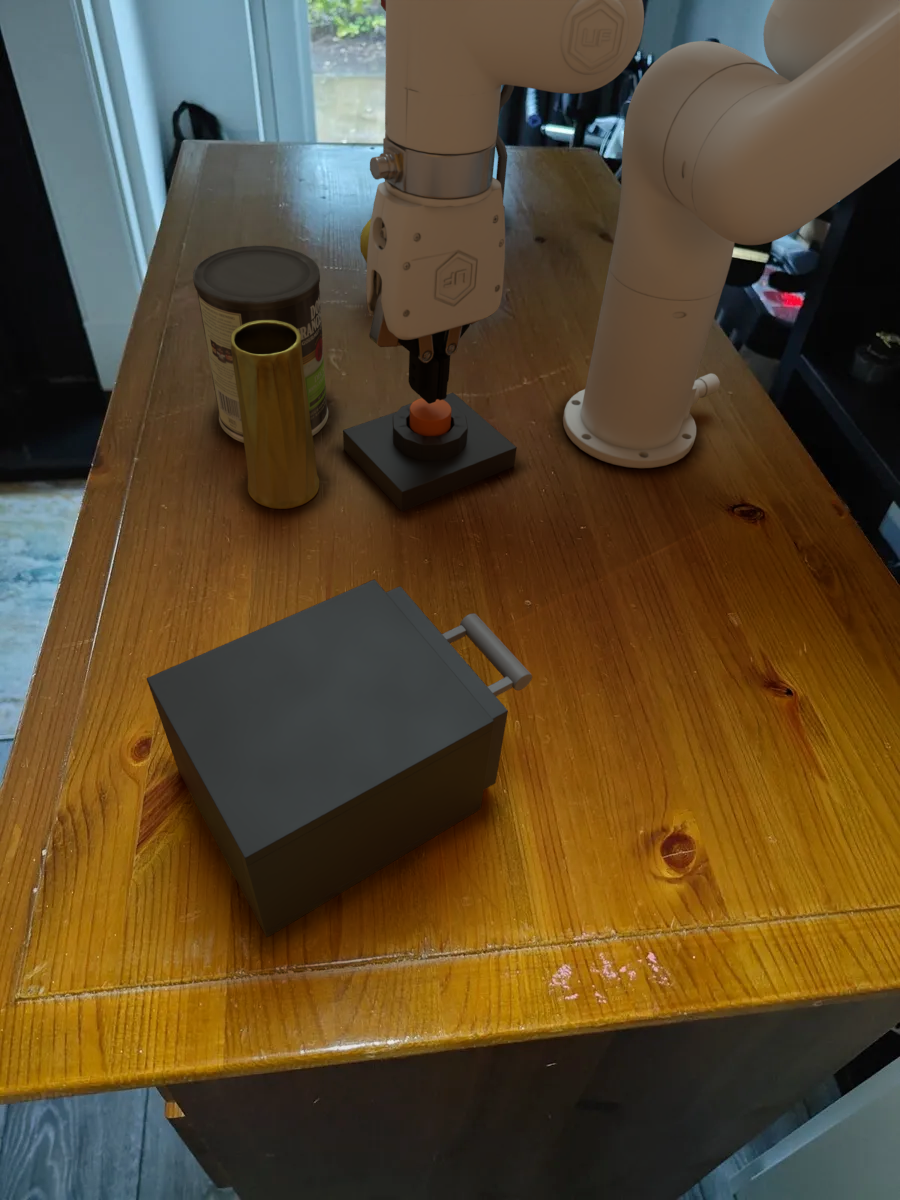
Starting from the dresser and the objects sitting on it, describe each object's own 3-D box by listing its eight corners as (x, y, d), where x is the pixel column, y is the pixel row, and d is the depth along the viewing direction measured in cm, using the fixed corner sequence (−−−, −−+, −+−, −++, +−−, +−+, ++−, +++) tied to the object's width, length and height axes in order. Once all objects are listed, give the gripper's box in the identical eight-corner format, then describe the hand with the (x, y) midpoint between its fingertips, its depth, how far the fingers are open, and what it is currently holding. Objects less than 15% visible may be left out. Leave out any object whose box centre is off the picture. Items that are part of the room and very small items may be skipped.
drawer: (450, 638, 61) (456, 560, 55) (549, 751, 55) (567, 678, 49) (218, 751, 53) (198, 675, 48) (303, 897, 47) (290, 830, 42)
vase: (261, 518, 70) (238, 366, 59) (238, 475, 73) (212, 325, 63) (330, 498, 72) (319, 348, 62) (304, 458, 76) (290, 310, 65)
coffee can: (342, 394, 83) (335, 253, 72) (309, 456, 76) (296, 310, 66) (242, 377, 84) (221, 236, 74) (200, 437, 77) (171, 291, 67)
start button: (435, 409, 76) (436, 392, 74) (458, 429, 74) (459, 412, 72) (401, 421, 74) (401, 404, 73) (424, 442, 72) (424, 425, 71)
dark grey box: (376, 673, 59) (374, 578, 52) (480, 809, 53) (494, 720, 46) (178, 770, 53) (146, 677, 46) (267, 938, 47) (244, 858, 40)
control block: (452, 411, 82) (454, 375, 79) (514, 467, 76) (519, 430, 73) (343, 450, 77) (341, 412, 74) (402, 512, 71) (402, 474, 68)
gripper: (373, 203, 53) (374, 443, 66) (557, 165, 59) (524, 391, 73) (316, 162, 57) (328, 395, 70) (494, 131, 63) (473, 350, 77)
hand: (428, 393), depth 71 cm, fingers closed
